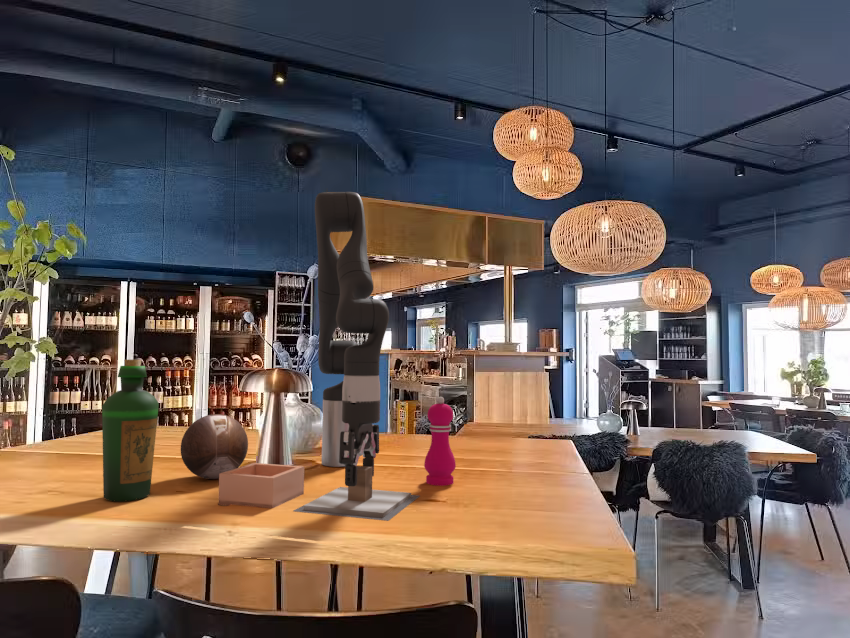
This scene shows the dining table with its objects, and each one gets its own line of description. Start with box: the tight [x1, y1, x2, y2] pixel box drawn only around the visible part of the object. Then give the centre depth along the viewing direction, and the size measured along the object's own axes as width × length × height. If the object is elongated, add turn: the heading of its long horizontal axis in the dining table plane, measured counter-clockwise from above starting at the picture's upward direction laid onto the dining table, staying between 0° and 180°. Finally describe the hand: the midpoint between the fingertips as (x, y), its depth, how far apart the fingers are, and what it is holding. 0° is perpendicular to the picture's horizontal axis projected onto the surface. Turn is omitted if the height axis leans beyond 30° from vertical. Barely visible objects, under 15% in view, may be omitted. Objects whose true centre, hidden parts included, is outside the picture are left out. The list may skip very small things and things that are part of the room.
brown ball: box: [180, 413, 249, 480], centre depth 137 cm, size 15×15×15 cm
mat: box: [293, 494, 421, 522], centre depth 113 cm, size 19×19×1 cm
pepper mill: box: [423, 396, 456, 487], centre depth 133 cm, size 7×7×20 cm
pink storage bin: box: [217, 462, 305, 509], centre depth 117 cm, size 12×12×6 cm
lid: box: [304, 465, 412, 518], centre depth 114 cm, size 16×16×7 cm
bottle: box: [101, 359, 160, 503], centre depth 118 cm, size 11×11×28 cm
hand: (359, 481), depth 113 cm, fingers open, 8 cm apart
